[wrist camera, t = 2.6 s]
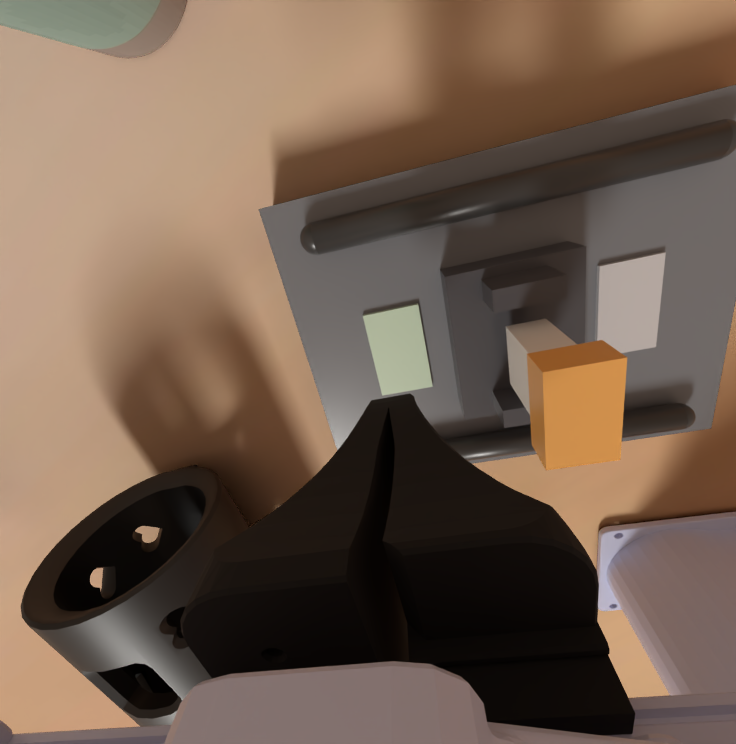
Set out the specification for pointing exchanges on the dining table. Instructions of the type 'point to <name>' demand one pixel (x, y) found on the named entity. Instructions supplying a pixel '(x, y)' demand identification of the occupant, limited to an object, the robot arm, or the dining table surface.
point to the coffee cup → (98, 23)
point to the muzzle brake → (134, 590)
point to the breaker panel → (524, 273)
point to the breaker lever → (568, 394)
